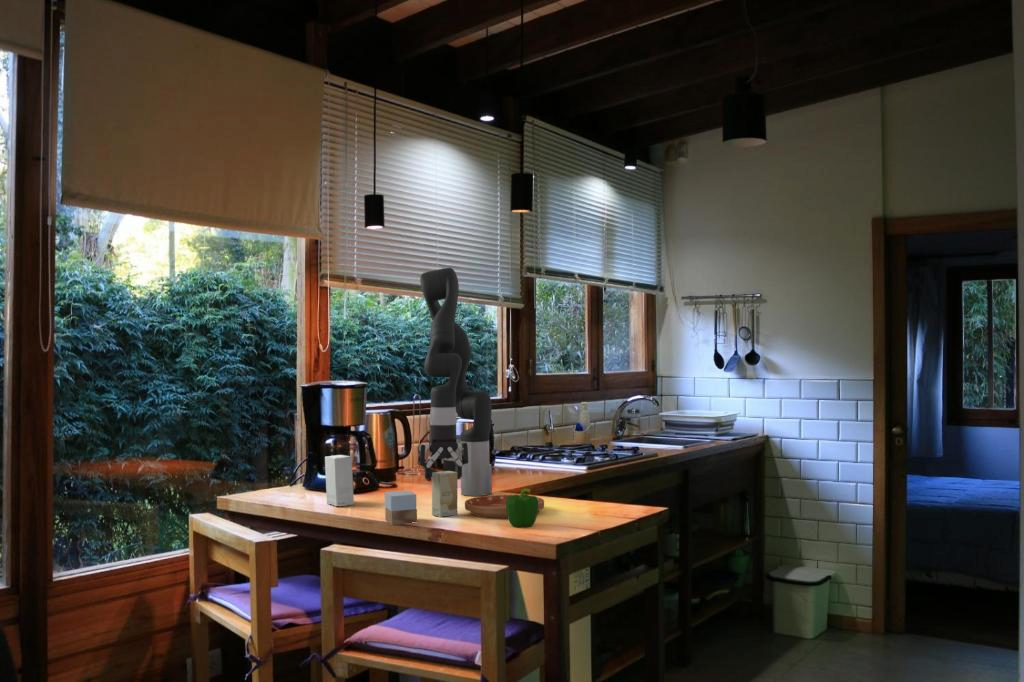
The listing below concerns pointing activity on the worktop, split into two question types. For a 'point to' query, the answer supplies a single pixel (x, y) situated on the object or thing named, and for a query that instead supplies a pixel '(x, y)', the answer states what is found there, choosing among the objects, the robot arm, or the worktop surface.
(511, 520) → the bell pepper
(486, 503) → the saucer
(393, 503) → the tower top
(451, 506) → the skincare box
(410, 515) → the tower base
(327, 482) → the skincare box
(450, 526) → the worktop surface
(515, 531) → the worktop surface
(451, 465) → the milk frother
